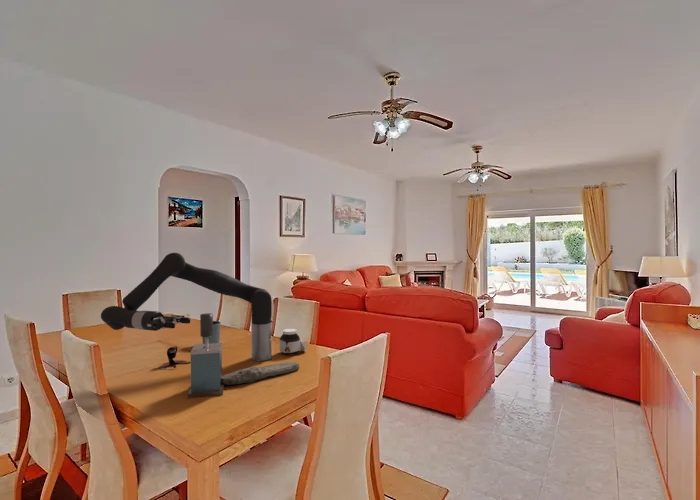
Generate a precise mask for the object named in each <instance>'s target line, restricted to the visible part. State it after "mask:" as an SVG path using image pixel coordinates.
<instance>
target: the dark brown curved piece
mask: <svg viewBox="0 0 700 500" xmlns="http://www.w3.org/2000/svg"><path fill="white" fill-rule="evenodd" d="M177 352H178V346H177V345H174V346H170V347H169V348H168V349H167V350H166V356H167V359H168V362H164V363H163V364H162V365H159V366H158V367H157V368H158V369H160V370H163V371H164V370H165V371H166V370H167V368H168V370H169V371H170V370H171V369H170V368H172V369H173V368H174V369H176V368H177V365H176V364H189V363H190V360H189V361H187V360H183V359H182V360H181V359H179V360H174V359H175V358H176V356H177Z"/></svg>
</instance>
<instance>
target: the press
mask: <svg viewBox="0 0 700 500" xmlns="http://www.w3.org/2000/svg"><path fill="white" fill-rule="evenodd" d="M222 345H223V344H222V342H220V343H212V344H208V346H209V348H205V344H203V343H201V344H200V343H197V344H194V345H193V347H192V348H191V351H190V386H189V389H188V393H187V398H188V399H191V398H192V399H194V398H203V397H204V398H206V397H215V396H223V395H224V388H225V385H226V384H224V383H222V382H221V381H222V380H221V379H222V376H223V357H222V356H223V351H222V350H223V347H222Z"/></svg>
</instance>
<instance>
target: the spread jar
mask: <svg viewBox="0 0 700 500" xmlns="http://www.w3.org/2000/svg"><path fill="white" fill-rule="evenodd" d="M297 331H298V330H297V329H296V328H285V329H283V330H282V334H281V336H280V337H279V340H278V341H279V343H278V344H279V345H278V346H279V351H280V353H281V354H282V355H284V354H285V356H294V355H296V354H298V353H299V352H300V351H301V350H302V351H301V352H303V351H304V352H306V351H307V344H306V342H305V341H304V339H302V338H300V335H298V333H297ZM293 354H294V355H293Z"/></svg>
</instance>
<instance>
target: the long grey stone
mask: <svg viewBox="0 0 700 500" xmlns="http://www.w3.org/2000/svg"><path fill="white" fill-rule="evenodd" d="M299 369H300V365H299V362H298V361H290V362H289V361H285V362H281V363H275V364H269V365H265V366H254V365H253V366H250V367H247V368H246V367H245V368H242V369H238V370H236V371H233V372H232V371H231V372H230V373H227V374H224V375H223V374H222V379H221V380H222V381H221V382H222V383H224V384H225V385H238V384H239V385H241V384H246V383H253V382H255V381H258V380H262V379H266V378H268V377H273V376H274V377H275V376H278V375H281V374H289V373H292V372H295V371H298V370H299Z"/></svg>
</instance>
